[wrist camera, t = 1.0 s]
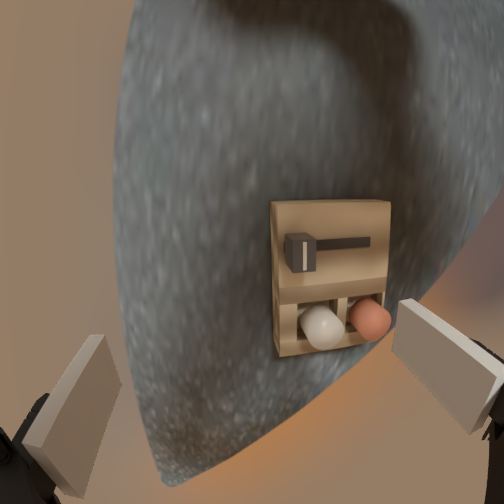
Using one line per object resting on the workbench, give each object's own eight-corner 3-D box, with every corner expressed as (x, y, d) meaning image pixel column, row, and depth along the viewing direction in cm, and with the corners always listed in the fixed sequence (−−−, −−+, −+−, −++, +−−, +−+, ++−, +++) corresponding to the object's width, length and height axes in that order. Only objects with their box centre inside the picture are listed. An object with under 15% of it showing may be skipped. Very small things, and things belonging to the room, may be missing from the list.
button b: (300, 305, 30) (309, 319, 27) (333, 301, 30) (345, 314, 27) (299, 336, 30) (308, 352, 27) (331, 331, 31) (342, 346, 28)
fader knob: (284, 233, 27) (293, 240, 24) (305, 232, 27) (316, 239, 24) (285, 263, 28) (293, 273, 25) (306, 261, 28) (316, 271, 25)
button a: (350, 299, 30) (362, 312, 27) (378, 295, 31) (393, 306, 27) (347, 329, 31) (359, 343, 28) (375, 324, 31) (388, 337, 28)
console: (269, 201, 31) (277, 204, 26) (372, 198, 32) (391, 202, 28) (273, 338, 34) (280, 358, 30) (364, 325, 36) (379, 341, 32)
